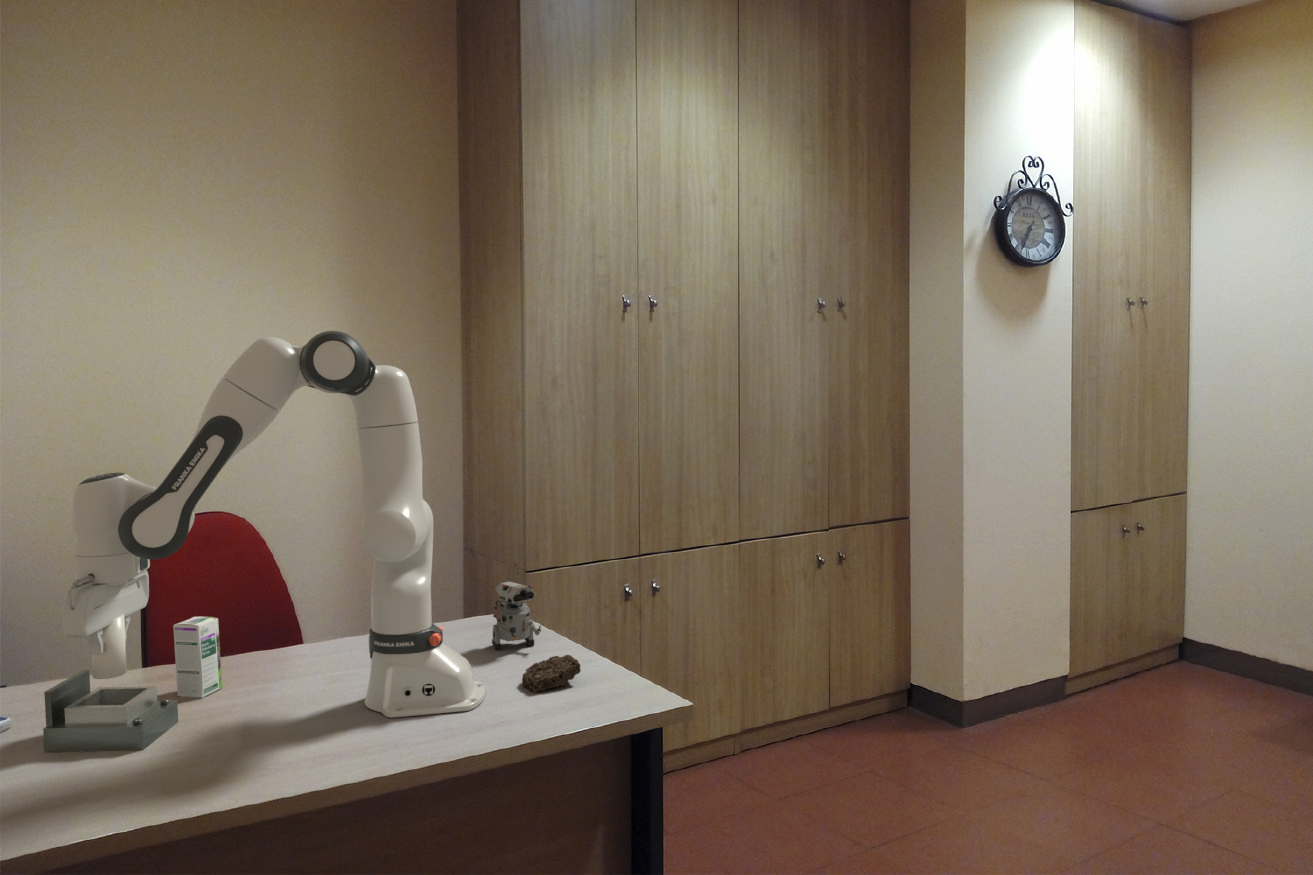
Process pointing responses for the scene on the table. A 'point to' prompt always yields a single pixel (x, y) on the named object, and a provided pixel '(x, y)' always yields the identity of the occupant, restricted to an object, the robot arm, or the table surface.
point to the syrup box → (197, 657)
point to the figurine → (513, 614)
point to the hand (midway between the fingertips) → (109, 648)
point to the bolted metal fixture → (104, 716)
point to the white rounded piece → (111, 652)
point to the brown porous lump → (550, 673)
